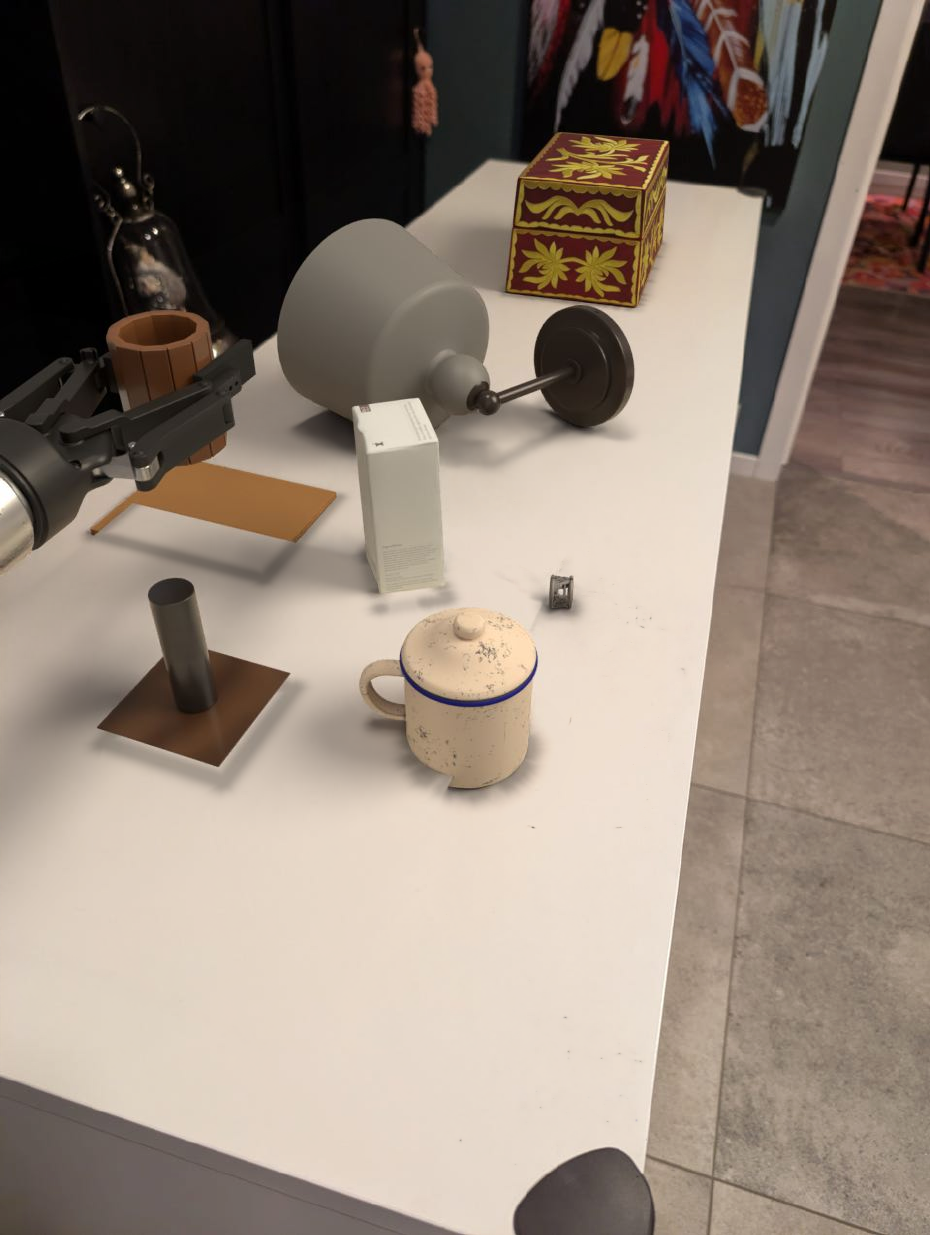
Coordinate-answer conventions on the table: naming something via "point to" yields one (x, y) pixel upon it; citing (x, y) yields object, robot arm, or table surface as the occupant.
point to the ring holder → (192, 686)
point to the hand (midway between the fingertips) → (205, 348)
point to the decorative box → (589, 219)
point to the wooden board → (233, 500)
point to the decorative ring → (563, 583)
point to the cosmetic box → (400, 494)
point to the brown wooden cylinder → (161, 360)
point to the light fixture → (430, 336)
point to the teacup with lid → (463, 693)
